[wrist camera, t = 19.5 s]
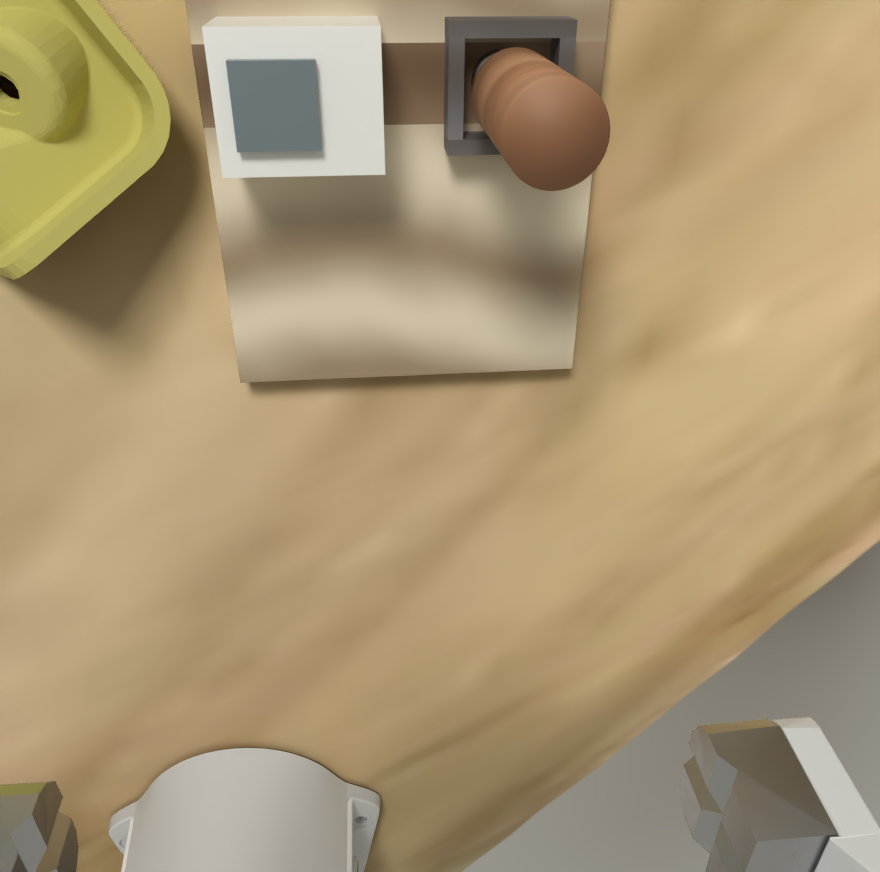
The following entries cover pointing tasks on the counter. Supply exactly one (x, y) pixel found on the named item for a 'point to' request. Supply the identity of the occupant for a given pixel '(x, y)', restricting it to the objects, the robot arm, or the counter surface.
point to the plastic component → (69, 123)
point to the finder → (297, 95)
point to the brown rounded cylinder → (539, 118)
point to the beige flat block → (410, 211)
